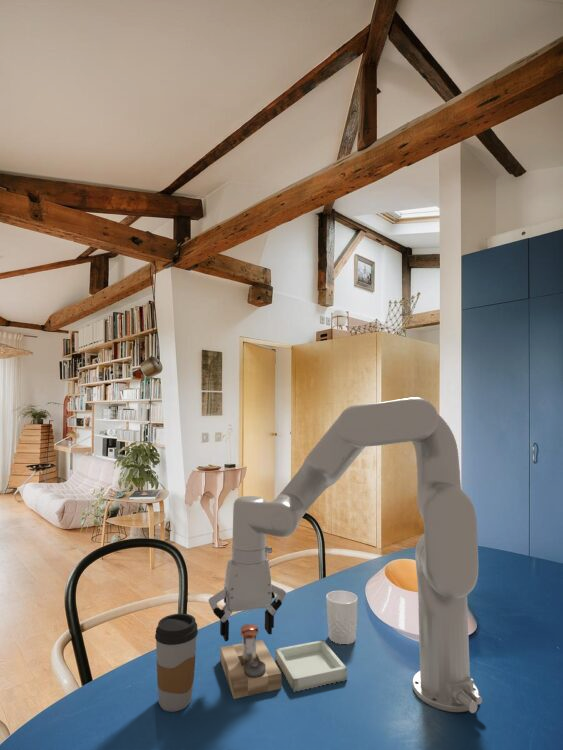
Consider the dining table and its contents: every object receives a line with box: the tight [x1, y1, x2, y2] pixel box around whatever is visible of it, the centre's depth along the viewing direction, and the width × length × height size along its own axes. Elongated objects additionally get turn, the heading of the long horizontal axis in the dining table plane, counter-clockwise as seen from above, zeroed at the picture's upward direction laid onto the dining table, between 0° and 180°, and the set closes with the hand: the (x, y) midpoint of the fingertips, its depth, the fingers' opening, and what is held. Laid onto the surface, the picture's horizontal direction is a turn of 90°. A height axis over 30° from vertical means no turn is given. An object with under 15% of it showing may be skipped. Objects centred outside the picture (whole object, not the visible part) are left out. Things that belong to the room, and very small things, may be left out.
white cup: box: [325, 590, 358, 645], centre depth 110 cm, size 8×8×10 cm
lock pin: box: [240, 623, 259, 667], centre depth 95 cm, size 4×4×10 cm
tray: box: [275, 639, 348, 693], centre depth 96 cm, size 12×12×2 cm
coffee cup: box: [154, 613, 199, 712], centre depth 86 cm, size 8×8×15 cm
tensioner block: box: [219, 639, 282, 700], centre depth 95 cm, size 14×10×5 cm
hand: (247, 634), depth 95 cm, fingers open, 9 cm apart
